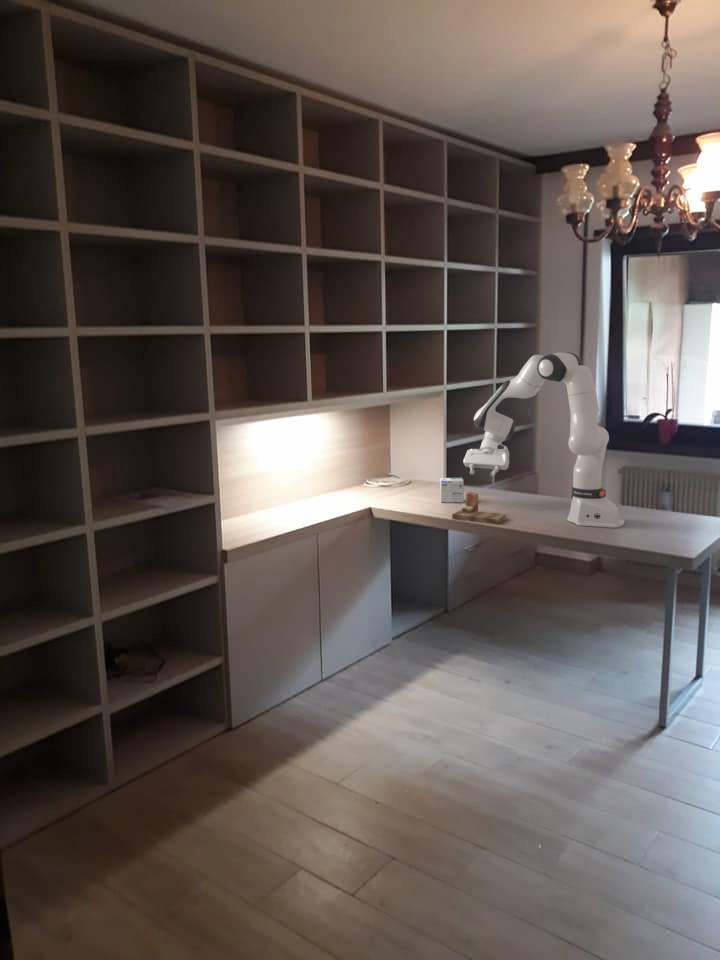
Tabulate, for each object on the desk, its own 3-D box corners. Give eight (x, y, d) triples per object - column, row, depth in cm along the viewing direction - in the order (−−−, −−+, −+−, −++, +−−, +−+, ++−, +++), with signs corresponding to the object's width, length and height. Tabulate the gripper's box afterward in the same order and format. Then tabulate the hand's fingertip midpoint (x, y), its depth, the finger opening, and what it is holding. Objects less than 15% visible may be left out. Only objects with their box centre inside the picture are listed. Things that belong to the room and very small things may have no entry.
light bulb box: (462, 500, 363) (462, 477, 361) (463, 503, 356) (464, 480, 354) (439, 500, 363) (439, 477, 361) (440, 503, 356) (440, 480, 354)
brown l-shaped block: (477, 513, 336) (478, 493, 334) (470, 518, 328) (470, 497, 326) (469, 512, 338) (469, 492, 336) (461, 517, 330) (461, 496, 328)
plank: (505, 519, 326) (505, 514, 325) (497, 524, 317) (498, 519, 317) (461, 514, 335) (461, 509, 335) (452, 518, 327) (452, 514, 326)
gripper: (466, 444, 352) (457, 468, 345) (510, 447, 342) (502, 472, 335) (469, 452, 356) (461, 477, 350) (513, 455, 347) (505, 480, 340)
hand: (481, 474), depth 342 cm, fingers open, 8 cm apart
